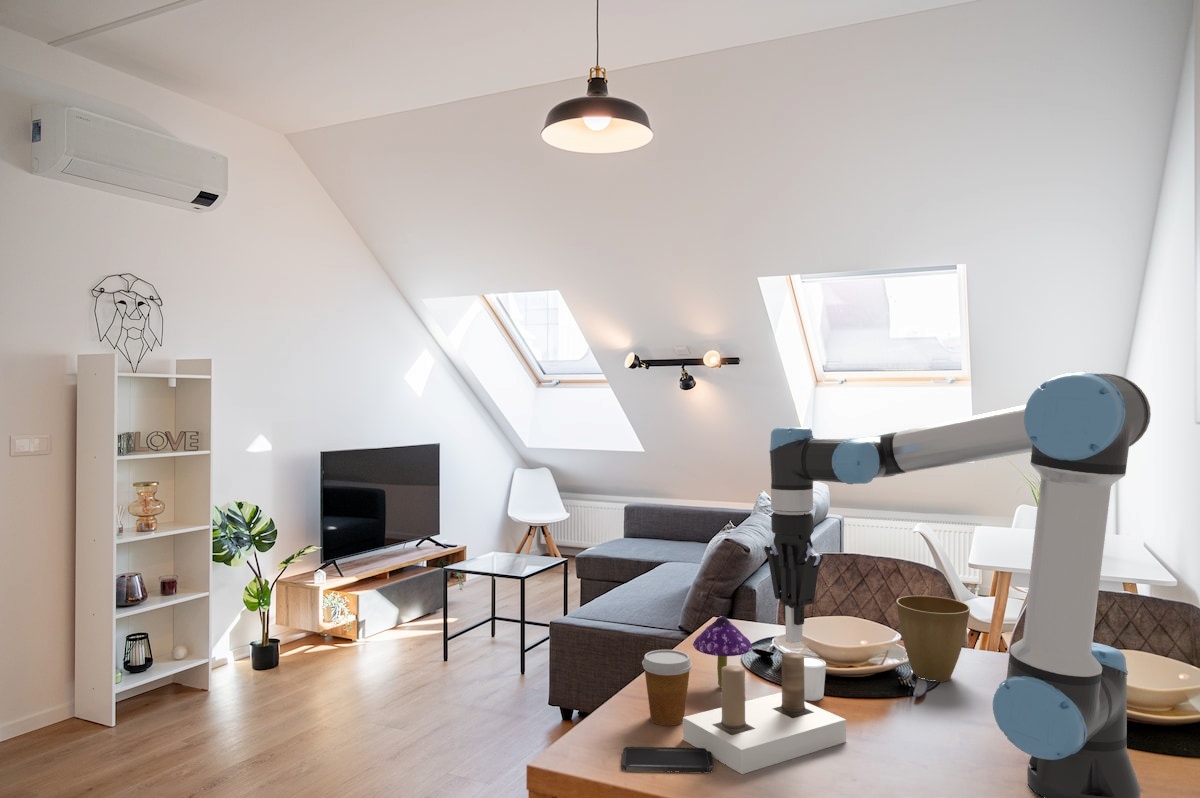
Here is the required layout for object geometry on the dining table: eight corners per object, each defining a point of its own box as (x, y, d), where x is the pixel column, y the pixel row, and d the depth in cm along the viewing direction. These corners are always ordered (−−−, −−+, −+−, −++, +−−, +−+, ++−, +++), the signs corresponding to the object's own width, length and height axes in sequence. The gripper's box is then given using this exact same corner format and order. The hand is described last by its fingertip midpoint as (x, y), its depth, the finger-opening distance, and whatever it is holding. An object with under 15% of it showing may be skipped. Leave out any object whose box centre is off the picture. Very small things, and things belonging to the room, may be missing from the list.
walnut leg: (810, 734, 151) (809, 657, 151) (793, 739, 148) (792, 661, 148) (793, 726, 154) (793, 651, 154) (776, 731, 152) (776, 654, 152)
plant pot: (898, 684, 176) (898, 609, 176) (895, 663, 190) (894, 593, 190) (974, 691, 171) (974, 614, 171) (965, 669, 186) (965, 597, 186)
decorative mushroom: (750, 677, 180) (749, 609, 180) (755, 699, 168) (754, 625, 168) (692, 676, 182) (692, 608, 182) (693, 697, 169) (692, 623, 169)
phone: (713, 768, 135) (621, 766, 136) (713, 775, 135) (621, 772, 136) (710, 747, 143) (623, 745, 144) (710, 754, 143) (623, 752, 144)
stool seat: (846, 741, 147) (845, 663, 147) (741, 774, 135) (741, 688, 135) (782, 712, 161) (782, 640, 161) (682, 739, 149) (682, 661, 148)
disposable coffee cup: (634, 723, 156) (633, 660, 156) (654, 706, 164) (654, 646, 164) (681, 733, 151) (680, 667, 151) (699, 715, 160) (699, 653, 160)
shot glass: (827, 702, 166) (827, 667, 166) (792, 700, 167) (792, 665, 167) (825, 690, 173) (825, 657, 173) (791, 688, 174) (791, 655, 174)
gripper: (833, 513, 147) (835, 646, 147) (782, 506, 159) (784, 629, 159) (803, 517, 144) (805, 653, 144) (752, 509, 155) (754, 636, 155)
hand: (794, 641), depth 151 cm, fingers closed
